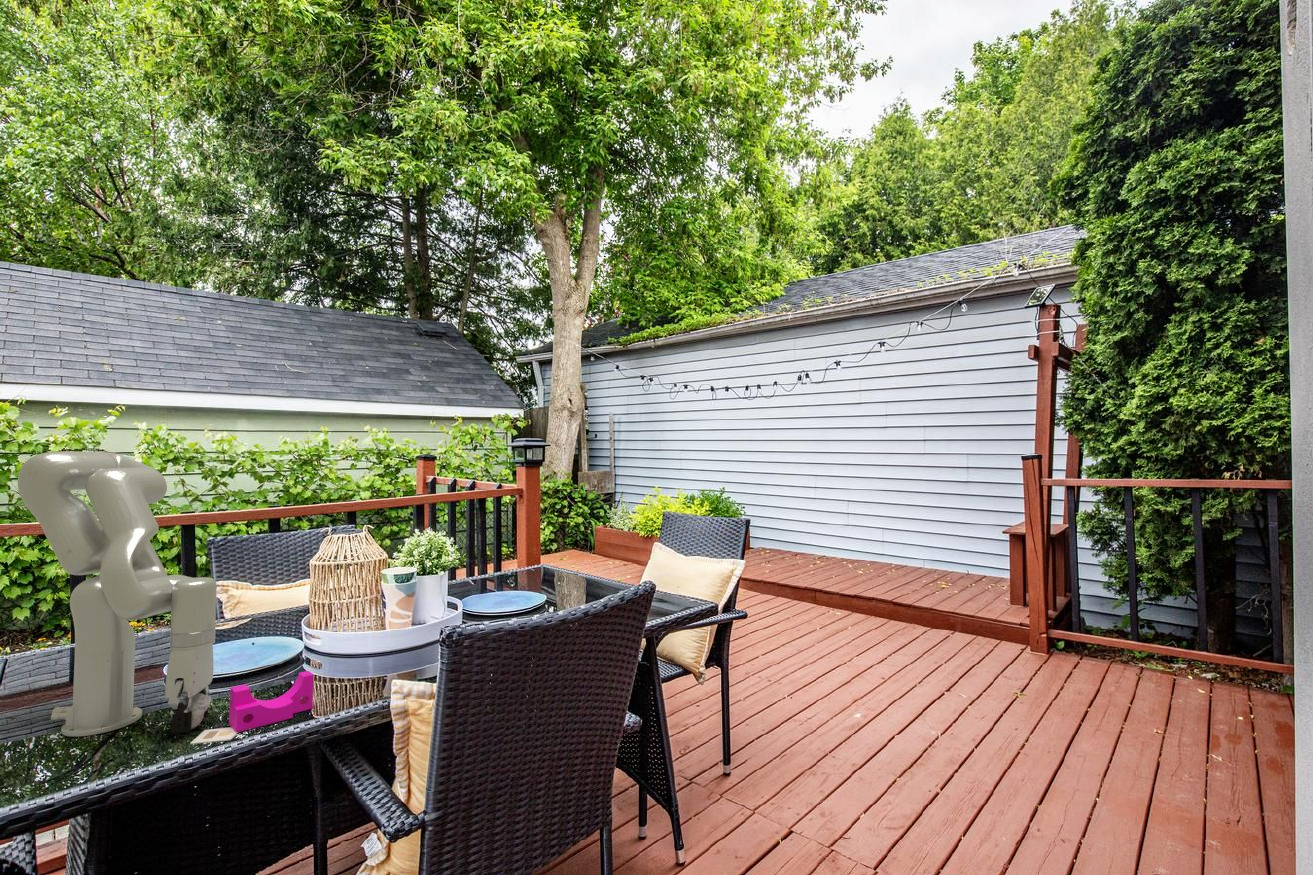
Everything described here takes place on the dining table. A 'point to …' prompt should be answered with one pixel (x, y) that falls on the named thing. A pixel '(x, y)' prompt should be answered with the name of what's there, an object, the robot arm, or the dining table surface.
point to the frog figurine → (198, 708)
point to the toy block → (269, 704)
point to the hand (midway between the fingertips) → (190, 723)
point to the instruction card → (215, 735)
